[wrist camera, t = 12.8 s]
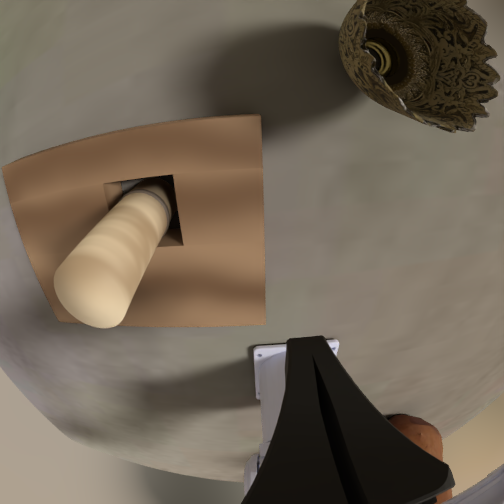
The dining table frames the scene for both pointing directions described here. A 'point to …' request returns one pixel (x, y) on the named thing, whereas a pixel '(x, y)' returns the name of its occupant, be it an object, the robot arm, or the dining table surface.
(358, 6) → the cup
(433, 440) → the butternut squash
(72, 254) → the birch dowel
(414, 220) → the dining table surface
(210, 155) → the walnut board
